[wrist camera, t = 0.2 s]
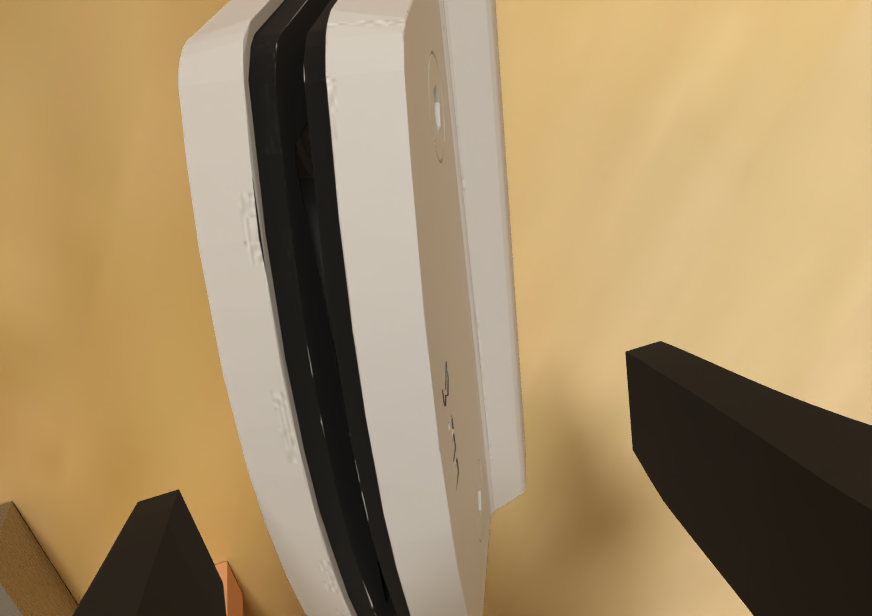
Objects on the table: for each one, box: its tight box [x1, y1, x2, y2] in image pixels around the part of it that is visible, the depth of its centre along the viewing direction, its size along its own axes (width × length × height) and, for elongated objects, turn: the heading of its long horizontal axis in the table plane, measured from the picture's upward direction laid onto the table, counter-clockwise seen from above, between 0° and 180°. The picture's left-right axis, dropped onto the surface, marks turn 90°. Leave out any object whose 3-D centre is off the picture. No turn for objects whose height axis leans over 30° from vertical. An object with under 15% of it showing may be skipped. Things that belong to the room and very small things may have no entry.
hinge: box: [178, 0, 526, 616], centre depth 18 cm, size 17×5×10 cm, turn 6°
